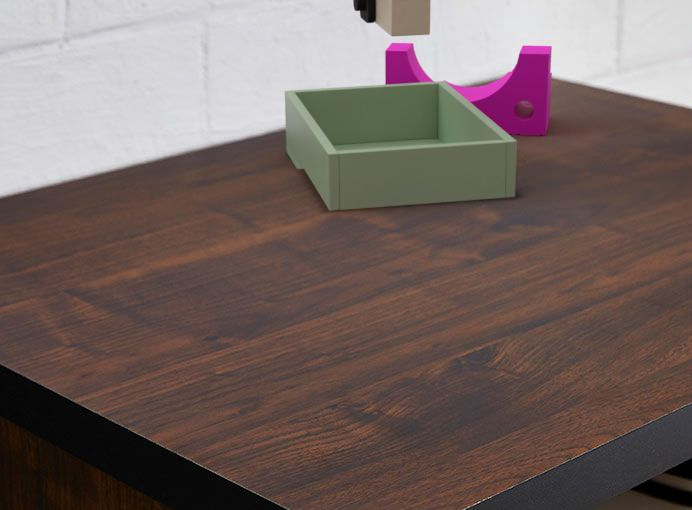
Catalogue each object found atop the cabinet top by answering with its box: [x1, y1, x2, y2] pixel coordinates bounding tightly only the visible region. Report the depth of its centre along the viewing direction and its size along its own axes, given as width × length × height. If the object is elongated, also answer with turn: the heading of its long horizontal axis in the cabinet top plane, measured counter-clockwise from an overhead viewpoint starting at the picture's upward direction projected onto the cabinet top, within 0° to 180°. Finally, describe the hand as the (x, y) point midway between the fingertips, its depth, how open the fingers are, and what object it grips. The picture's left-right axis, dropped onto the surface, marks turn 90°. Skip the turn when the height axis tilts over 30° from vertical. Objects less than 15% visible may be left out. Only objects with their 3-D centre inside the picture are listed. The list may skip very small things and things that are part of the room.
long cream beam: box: [374, 0, 431, 37], centre depth 110 cm, size 14×3×3 cm, turn 10°
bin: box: [284, 80, 518, 212], centre depth 115 cm, size 15×22×6 cm
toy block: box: [384, 42, 553, 137], centre depth 131 cm, size 15×6×8 cm, turn 78°
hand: (390, 16), depth 111 cm, fingers closed on long cream beam, 3 cm apart
